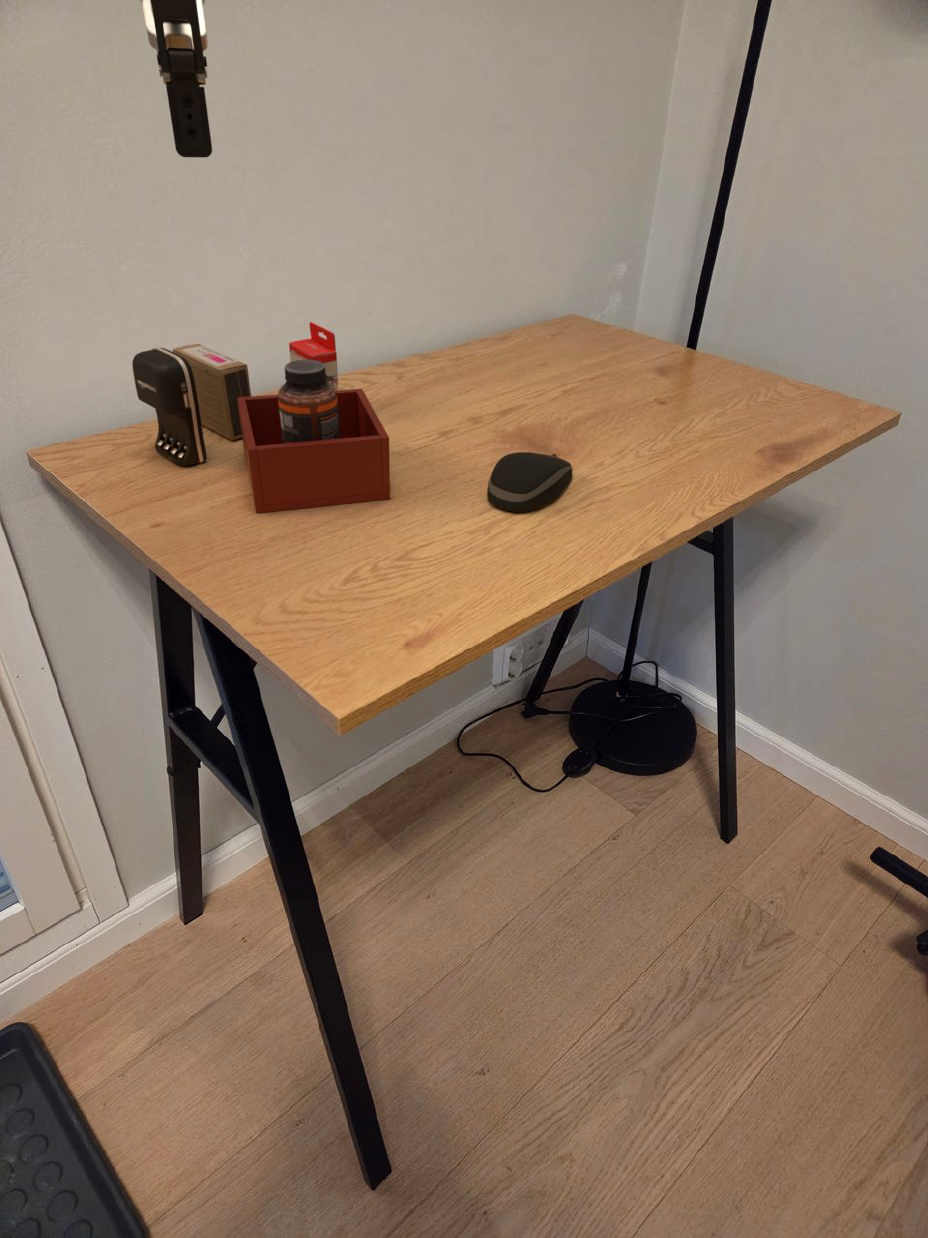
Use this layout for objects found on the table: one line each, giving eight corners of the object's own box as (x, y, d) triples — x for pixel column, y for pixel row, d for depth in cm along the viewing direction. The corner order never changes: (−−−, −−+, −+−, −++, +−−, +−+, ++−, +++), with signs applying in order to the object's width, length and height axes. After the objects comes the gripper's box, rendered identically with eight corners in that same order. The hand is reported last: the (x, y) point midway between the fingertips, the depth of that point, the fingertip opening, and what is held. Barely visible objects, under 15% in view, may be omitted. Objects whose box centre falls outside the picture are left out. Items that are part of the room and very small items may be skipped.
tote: (256, 513, 78) (247, 449, 74) (244, 455, 89) (236, 397, 85) (390, 499, 82) (389, 437, 78) (364, 445, 92) (362, 388, 88)
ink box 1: (258, 434, 93) (249, 363, 88) (230, 442, 91) (220, 370, 86) (210, 408, 99) (200, 341, 94) (183, 416, 97) (170, 347, 92)
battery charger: (145, 452, 88) (122, 349, 81) (175, 442, 91) (156, 342, 84) (179, 472, 85) (158, 367, 78) (210, 462, 87) (192, 358, 80)
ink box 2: (293, 406, 100) (285, 324, 94) (316, 401, 102) (310, 320, 96) (317, 422, 97) (311, 337, 91) (341, 415, 99) (336, 332, 93)
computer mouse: (585, 478, 87) (590, 444, 85) (530, 521, 79) (533, 485, 77) (531, 460, 90) (534, 427, 88) (472, 500, 82) (473, 465, 80)
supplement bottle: (347, 460, 87) (342, 357, 80) (335, 485, 82) (328, 377, 75) (294, 456, 87) (284, 353, 80) (278, 480, 82) (266, 373, 76)
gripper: (80, -175, 48) (136, 135, 58) (58, -231, 37) (131, 162, 47) (208, -161, 50) (241, 136, 60) (222, -211, 39) (259, 163, 49)
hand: (192, 147), depth 53 cm, fingers open, 8 cm apart
